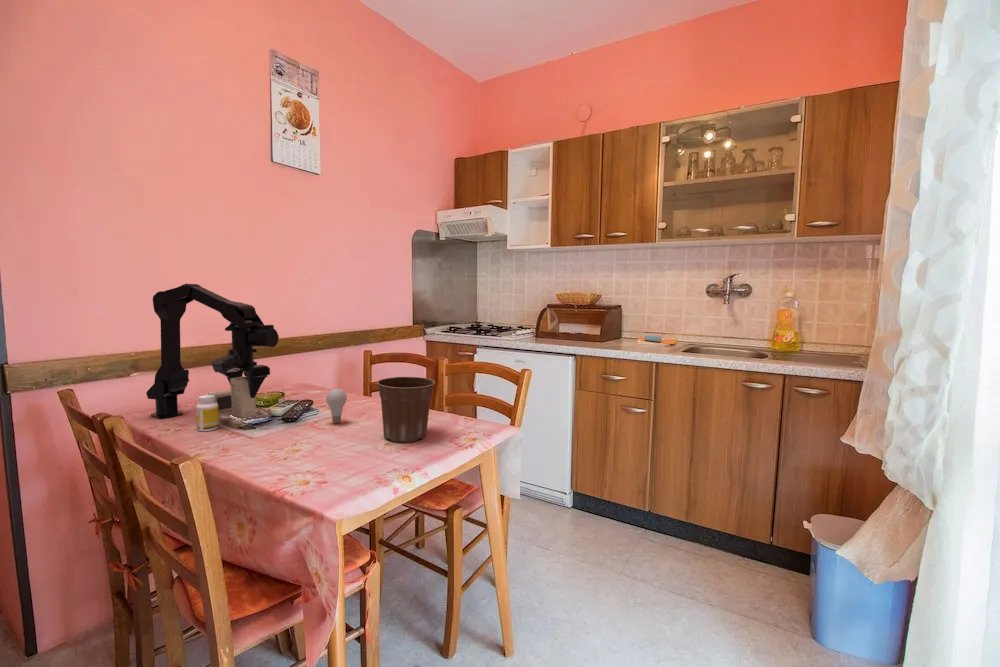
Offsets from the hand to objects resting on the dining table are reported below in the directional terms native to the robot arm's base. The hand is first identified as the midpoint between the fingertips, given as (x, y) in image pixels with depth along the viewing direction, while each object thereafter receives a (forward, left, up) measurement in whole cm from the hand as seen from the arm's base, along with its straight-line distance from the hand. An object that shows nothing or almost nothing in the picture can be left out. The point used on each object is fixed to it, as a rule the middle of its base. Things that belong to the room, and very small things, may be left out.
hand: (244, 395), depth 138 cm
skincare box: (0, 0, -7) cm, 7 cm away
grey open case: (-6, 0, -8) cm, 10 cm away
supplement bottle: (-1, -10, -8) cm, 13 cm away
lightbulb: (+24, +15, -8) cm, 30 cm away
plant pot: (+50, +18, -8) cm, 54 cm away
